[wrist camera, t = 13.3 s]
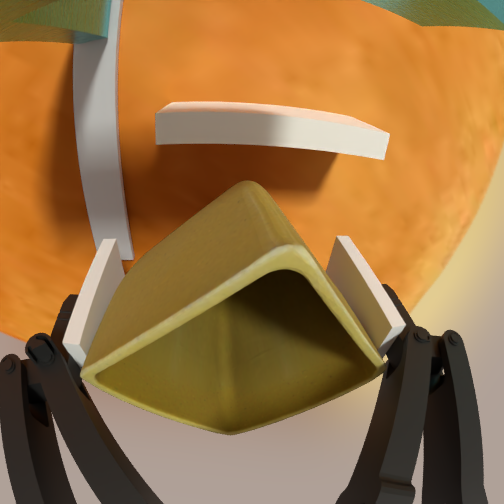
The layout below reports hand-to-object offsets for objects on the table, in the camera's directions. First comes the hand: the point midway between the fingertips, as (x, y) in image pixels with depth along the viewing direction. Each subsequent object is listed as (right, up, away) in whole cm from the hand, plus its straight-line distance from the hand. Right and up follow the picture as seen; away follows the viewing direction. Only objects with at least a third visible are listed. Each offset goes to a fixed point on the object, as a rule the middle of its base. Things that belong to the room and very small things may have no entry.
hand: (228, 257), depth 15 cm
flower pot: (0, +1, +1) cm, 2 cm away
